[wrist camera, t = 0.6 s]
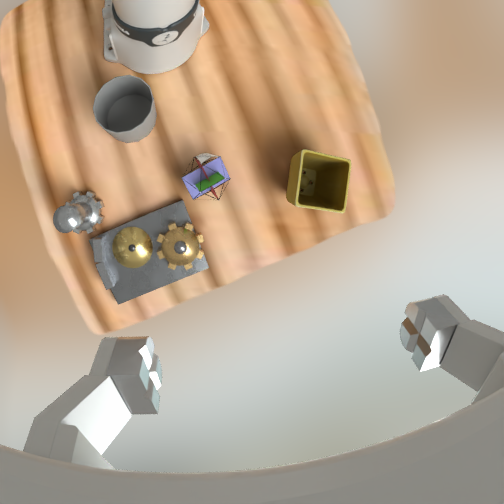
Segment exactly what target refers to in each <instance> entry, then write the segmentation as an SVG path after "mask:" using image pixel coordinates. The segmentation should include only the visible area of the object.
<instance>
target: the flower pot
mask: <svg viewBox="0 0 504 504" xmlns="http://www.w3.org/2000/svg"><path fill="white" fill-rule="evenodd" d="M303 171H305V174H303V173H302V172H303ZM350 172H351V160H349V159H346V158H341V157H336V156H332V155H327V154H323V153H319V152H315V151H311V150H307V149H303V150H301V151H299V152H298V153H296V154H295V155H294V156H293V157H292V159H291V163H290V171H289V179H288V186H287V193H286V198H287V200H288V202H290V203H292V204H293V205H295V206H297V207H303V208H311V209H318V210H324V211H331V212H336V213H344V212H345V209H346V203H347V195H348V187H349V179H350ZM310 181H312V184H310ZM300 189H303V191H302V192H301V191H300Z"/></svg>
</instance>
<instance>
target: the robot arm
mask: <svg viewBox="0 0 504 504" xmlns="http://www.w3.org/2000/svg"><path fill="white" fill-rule="evenodd" d="M102 14H103V19H104V57H105V60H107V61H109V62H115V63H121V64H123V65H125V66H126V67H128V68H129V69H131V70H133V71H136V72H139V73H144V74H158V73H163V72H167V71H170V70H172V69H174V68H176V67H178V66H180V65H181V64H183V63H184V62H185V61H186V60H187V59H188V58H189V57H190V56H191V55H192V53H193V52H194V50H195V48H196V46H197V43H198V41H199V39H200V37H202V36H203V35H204V34H205V33H206V32H207V30H208V29H209V22H208V21H207V19H206V18H205V17H204V8H203V7H201V5H200V4H199V0H105V8H103V9H102ZM110 48H113V49H112V50H109V49H110ZM405 314H406V316H407V318H406V319H405V320H404V321H403V322H402V324H401V329H400V338H401V341H402V344H403V346H404V347H405V349H406V350H408V351H410V352H412V359H413V361H414V363H415V364H416V366H417V367H418V369H419V371H424V370H427V369H430V368H433V367H437V366H440V367H441V368H442V369H444V370H445V371H447V372H449V373H450V374H451V375H453V376H454V377H456V378H458V379H459V380H461V381H462V382H463V383H465V384H466V385H468V386H470V387H471V388H473V389H474V390H475V391H477V392H478V393H477V394H476V396H475V397H474V399H473V400H472V403H471V405H469V406H467V407H465V408H463V409H461V410H459V411H457V412H455V413H453V414H451V415H449V416H446V417H444V418H442V419H440V420H437V421H435V422H433V423H430V424H428V425H425V426H423V427H420V428H418V429H415V430H413V431H410V432H407V433H405V434H402V435H399V436H396V437H393V438H390V439H387V440H384V441H382V442H378V443H375V444H372V445H368V446H365V447H361V448H358V449H354V450H351V451H347V452H343V453H339V454H335V455H331V456H326V457H323V458H318V459H313V460H308V461H302V462H297V463H291V464H285V465H279V466H272V467H265V468H257V469H248V470H237V471H224V472H204V473H160V472H140V471H126V470H117V469H114V468H113V467H112V465H111V464H110V463H109V462H108V461H107V460H106V459H105V458H104V457H103V456H102V455H101V454H102V453H103V452H104V451H105V450H106V448H107V447H108V446H109V444H110V443H111V442H112V441H113V439H114V438H115V437H116V436H117V434H118V433H119V432H120V430H121V429H122V428H123V427H124V425H125V424H126V423H127V421H128V420H129V419H130V418H131V416H132V415H131V414H158V409H159V401H160V400H159V399H160V396H159V393H158V391H157V389H158V388H159V387H160V386H161V383H162V369H161V364H160V360H159V358H158V356H157V355H155V354H154V353H153V352H154V343H153V341H152V338H151V337H149V336H147V337H105V338H104V339H102V340H101V343H100V345H99V348H98V351H97V354H96V356H95V359H94V362H93V365H92V368H91V371H90V373H89V375H85V376H84V377H82V378H81V379H80V380H79V381H78V382H76V383H75V384H74V385H73V386H71V387H70V388H69V389H68V390H67V391H66V392H64V393H63V394H62V395H61V396H60V397H58V398H57V399H56V400H55V401H54V402H53V403H51V404H50V405H49V406H48V407H47V408H45V409H44V410H43V411H42V412H41V413H40V414H38V415H37V416H36V417H35V418H34V421H33V424H32V426H31V429H30V432H29V435H28V438H27V441H26V444H25V447H24V450H23V451H19V450H16V449H13V448H9V447H6V446H3V445H0V504H504V332H502V331H499V330H497V329H495V328H492V327H490V326H488V325H485V324H483V323H481V322H478V321H476V320H470V319H469V318H468V317H467V316H466V315H465V314H464V313H463V312H462V310H461V309H460V308H459V307H458V306H457V305H456V304H455V303H454V302H453V301H452V300H451V299H450V298H449V297H448V296H446V295H444V294H443V295H439V296H435V297H432V298H428V299H425V300H420V301H415V302H410V303H409V304H408V305H407V307H406V310H405Z"/></svg>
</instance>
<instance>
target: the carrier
mask: <svg viewBox="0 0 504 504" xmlns="http://www.w3.org/2000/svg"><path fill="white" fill-rule="evenodd" d="M172 222H175V223H176V225H177V226H184V225H185V223H186V222H188V223H191V220H190V218H189V215H188V212H187V210H186V207H185V204H184V202H183V200H181V201H178V202H176V203H173V204H171V205H168V206H166V207H163V208H161V209H158V210H156V211H153V212H151V213H149V214H146V215H144V216H141V217H139V218H137V219H134V220H132V221H130V222H127V223H125V224H123V225H120V226H118V227H116V228H114V229H111V230H109V231H107V232H105V233H102V234H100V235H98V236H96V237H94V238H91V239H90V240H89V242H90V244H91V247H92V249H93V251H94V261H95V262H97V264H96V267H97V270H98V272H99V274H100V277H101V279H102V281H103V284H104V286H105V288H106V290H107V289H111V291H112V293H113V295H114V297H115V299H116V301H117V303H118V305H119V304H121V303H123V302H126V301H128V300H131V299H133V298H136V297H138V296H141V295H143V294H146V293H148V292H150V291H153V290H155V289H158V288H160V287H163V286H165V285H168V284H170V283H173V282H175V281H178V280H180V279H182V278H185V277H187V276H190V275H192V274H195V273H197V272H200V271H202V270H205V269H207V268H209V267H208V264H207V262H206V259H205V256H204V254H203V256H202V258H201V259H199V258H195V259H194V261H192V262H191V263H192V266H193V267H192V268H190V269H187V270H186V269H185V267H184V265H183V266H176V268H175V270H173V269H171V268H168V261H167V260H166V259H165V257H164V258H162V259H159V257H158V254H157V250H158V249H160V248H161V245H162V243H160V242H158V241H157V238H158V236H159V233H160V232H161V233H164V234H165V233H166V232H167V231H168V230H169V227H168V224H170V223H172ZM191 224H192V223H191ZM192 231H193V232H194V233H195V231H194V228H193V229H192ZM195 234H196V233H195ZM199 246H200V244H199ZM199 249H201V246H200V247H199Z"/></svg>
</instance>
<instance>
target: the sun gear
mask: <svg viewBox="0 0 504 504" xmlns="http://www.w3.org/2000/svg"><path fill="white" fill-rule="evenodd" d="M168 227H169V230H168V231H167V232H166V233H165V234H164V233H161V232H160V233H159V236H158V238H157V241H158V242H160V243H162V245H161V248H160V249H158V250H157V254H158V257H159V259H162V258H164V257H165V259H166V260H167V261H168V268H171V269H173V270H175V268H176V266H183V265H184V267H185V269H186V270H187V269H190V268H192V267H193V266H192V263H191V262H192V261H194V259H195V258H199V259H201V258H202V256H203V254H204V252H203V250H202V249H199V247H200V246H199V243H201V242H204V239H203V237H202V234H201V233H198V234H195V233H194V232H193V231H192V229H193V227H194V226H193V224H191V223H188V222H186V223H185V225H184V226H177V225H176V223H175V222H172V223H170V224H168Z"/></svg>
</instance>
